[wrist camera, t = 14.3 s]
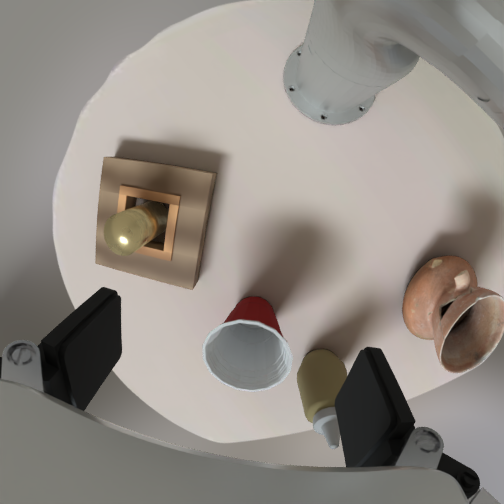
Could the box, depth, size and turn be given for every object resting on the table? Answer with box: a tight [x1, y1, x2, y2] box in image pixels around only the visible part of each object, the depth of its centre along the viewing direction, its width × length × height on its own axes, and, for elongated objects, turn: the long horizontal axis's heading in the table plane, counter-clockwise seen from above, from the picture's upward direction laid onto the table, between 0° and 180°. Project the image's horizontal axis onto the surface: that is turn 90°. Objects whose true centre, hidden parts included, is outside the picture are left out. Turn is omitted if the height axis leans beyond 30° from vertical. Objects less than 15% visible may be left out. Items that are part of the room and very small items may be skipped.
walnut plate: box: [96, 157, 217, 290], centre depth 39 cm, size 16×16×3 cm
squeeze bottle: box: [297, 349, 347, 449], centre depth 37 cm, size 8×8×18 cm
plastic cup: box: [202, 296, 293, 392], centre depth 38 cm, size 11×11×12 cm
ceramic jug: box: [402, 256, 504, 373], centre depth 34 cm, size 18×14×14 cm
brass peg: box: [104, 201, 169, 256], centre depth 35 cm, size 5×5×10 cm
